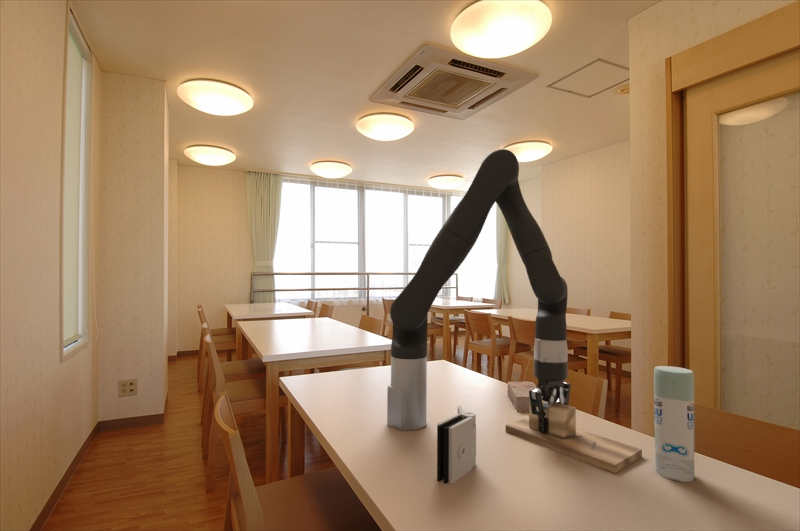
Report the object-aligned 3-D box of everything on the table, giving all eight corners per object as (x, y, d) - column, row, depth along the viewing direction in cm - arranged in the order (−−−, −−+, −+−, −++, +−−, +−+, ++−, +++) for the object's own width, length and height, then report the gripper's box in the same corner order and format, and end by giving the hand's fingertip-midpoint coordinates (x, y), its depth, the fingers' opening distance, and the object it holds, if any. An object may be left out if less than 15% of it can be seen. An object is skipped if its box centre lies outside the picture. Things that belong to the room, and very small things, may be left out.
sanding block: (563, 439, 90) (563, 412, 90) (529, 427, 97) (529, 401, 98) (575, 434, 93) (575, 407, 93) (541, 422, 100) (541, 398, 101)
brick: (546, 413, 113) (546, 396, 113) (516, 412, 114) (516, 395, 114) (533, 396, 130) (533, 381, 130) (506, 395, 130) (506, 380, 131)
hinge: (457, 452, 87) (458, 405, 87) (482, 457, 85) (482, 409, 85) (433, 481, 75) (434, 425, 75) (461, 488, 72) (461, 431, 73)
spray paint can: (696, 485, 74) (695, 375, 74) (654, 476, 77) (653, 370, 78) (693, 471, 79) (692, 368, 80) (654, 463, 83) (653, 364, 83)
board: (615, 473, 78) (614, 464, 78) (505, 431, 99) (505, 424, 99) (642, 456, 85) (641, 449, 86) (534, 421, 106) (534, 415, 106)
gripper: (553, 352, 103) (553, 419, 103) (518, 358, 95) (518, 431, 94) (581, 357, 97) (581, 428, 97) (547, 364, 89) (546, 442, 88)
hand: (550, 429), depth 96 cm, fingers closed on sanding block, 5 cm apart
